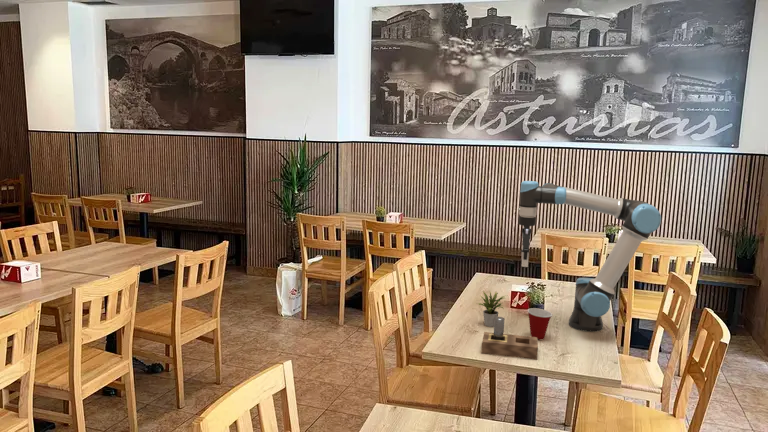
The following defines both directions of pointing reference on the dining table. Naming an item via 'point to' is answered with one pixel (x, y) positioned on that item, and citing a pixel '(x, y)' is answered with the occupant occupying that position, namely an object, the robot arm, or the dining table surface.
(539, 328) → the plastic cup
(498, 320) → the pin
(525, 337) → the hole block
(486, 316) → the house plant
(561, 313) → the dining table surface
